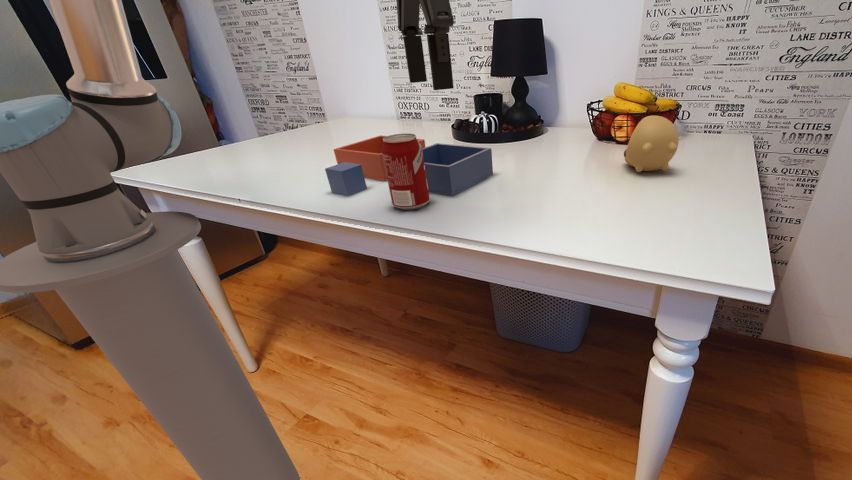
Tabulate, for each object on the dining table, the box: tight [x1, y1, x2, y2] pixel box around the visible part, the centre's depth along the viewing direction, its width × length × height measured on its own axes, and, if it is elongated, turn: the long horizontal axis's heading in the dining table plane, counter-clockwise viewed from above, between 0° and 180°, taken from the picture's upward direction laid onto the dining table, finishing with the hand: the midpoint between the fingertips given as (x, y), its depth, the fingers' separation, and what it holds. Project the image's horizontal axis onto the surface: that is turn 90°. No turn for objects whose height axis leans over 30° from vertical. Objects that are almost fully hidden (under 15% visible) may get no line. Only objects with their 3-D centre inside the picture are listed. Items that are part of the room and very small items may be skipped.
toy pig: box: [623, 115, 680, 173], centre depth 81 cm, size 10×12×11 cm
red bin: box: [333, 135, 426, 182], centre depth 93 cm, size 15×15×6 cm
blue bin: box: [422, 142, 494, 197], centre depth 83 cm, size 15×15×6 cm
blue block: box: [324, 162, 368, 197], centre depth 81 cm, size 5×5×5 cm
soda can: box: [381, 133, 431, 211], centre depth 70 cm, size 7×7×12 cm
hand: (430, 85), depth 61 cm, fingers open, 13 cm apart
